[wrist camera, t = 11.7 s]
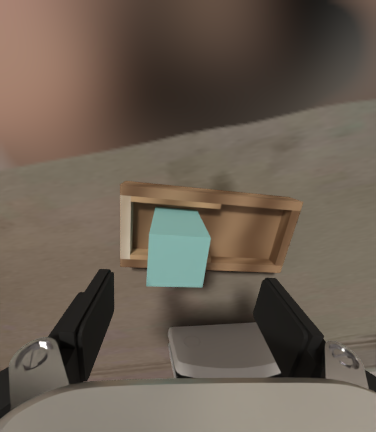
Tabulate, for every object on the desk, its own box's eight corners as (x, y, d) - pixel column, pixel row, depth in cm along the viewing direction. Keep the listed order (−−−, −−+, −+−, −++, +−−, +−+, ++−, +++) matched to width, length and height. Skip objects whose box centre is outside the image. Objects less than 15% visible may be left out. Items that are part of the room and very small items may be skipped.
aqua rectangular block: (196, 209, 20) (210, 237, 13) (191, 246, 21) (202, 287, 15) (155, 206, 19) (149, 233, 13) (153, 243, 21) (146, 286, 14)
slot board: (289, 197, 22) (303, 202, 19) (269, 261, 24) (280, 272, 22) (125, 180, 19) (120, 184, 17) (125, 255, 22) (120, 266, 20)
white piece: (167, 351, 28) (167, 424, 18) (167, 320, 28) (168, 376, 18) (268, 344, 30) (318, 406, 20) (268, 315, 30) (318, 363, 20)
